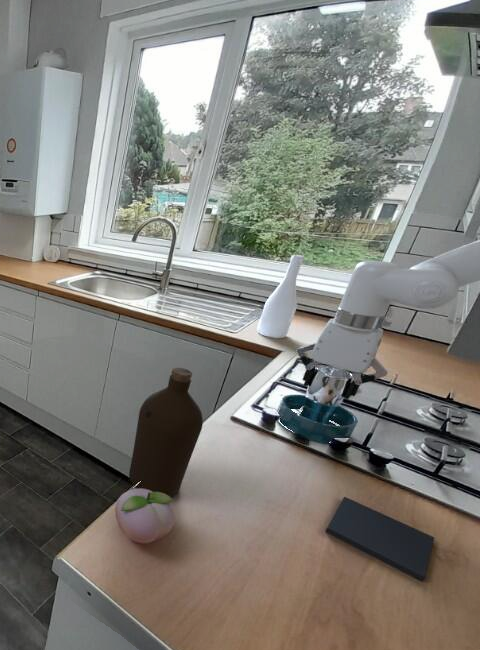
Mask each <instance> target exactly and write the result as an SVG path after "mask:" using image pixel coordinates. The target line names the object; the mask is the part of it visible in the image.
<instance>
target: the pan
mask: <svg viewBox="0 0 480 650" xmlns="http://www.w3.org/2000/svg"><path fill="white" fill-rule="evenodd" d="M305 398H306V394H305V395H304V394H288V395H284V396H283V397H282V398H281V399H280V402H279V405H278V407H277V410H276V412H278V414H279V415H280V417H281V418H280V422H281V423H282V424H283V425H284V426H286V427H287V428H288V429H290V430H292V431H293V432H295V433H297V434H300V435H302V436H305V437H307V438H309V439H307V438H305V437H302V436H300V435H297V434H295V433H293V432H292V431H290V430H288V429H286V428H285V427H284V426H282V425H281V424H280V423H279V422H278V424H279V425H280V426H281V427H282V428H284V429H285V430H286V431H288V432H290V433H291V434H293V435H296V436H298V437H300V438H302V439H305V440H308V441H311V442H315V443H320V444H324V445H331V444H330V443H329V442H330V441H331V440H332V439H333V438H350V439H351V437H352V435H353V434H354V431H355V429H356V427H357V425H358V423H359V421H358V417H357V416H356V415H355V414H353V413H352V412H351V411H350V410H349V409H347V408H345V407H343V406H342V405H339V407H338V408H337V409H336V410H335V412H334V413H333V414H332V416H331V418H330V420H331V421H334V422H335V423H337V424H339V425H340V426H336V425H335V424H333V423H331V422H329V424H323V423H320V422H316V421H313V420H310V419H307V418H305V417H303V416H301V415H299V414H297V413H295V412H293V411H292V410H291V409H300V408H301V407H302V406H304V404H305Z"/></svg>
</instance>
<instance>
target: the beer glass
mask: <svg viewBox="0 0 480 650" xmlns="http://www.w3.org/2000/svg"><path fill="white" fill-rule="evenodd" d="M315 369H316V370H315V372H314V374H313V376H312V378H311V380H310V382H309V385H308V386H307V388H306V392H305V395H306V398H305V404H304V408H303V411H302V412H301V414H300V415H301V416H303V417H305V418H307V419H310V420H313V421H316V422H320V423H323V424H329V420H330V418H331V416H332V414H333V413H334V412H335V410H336V409H337V408H338V407H339V406H341V405H342V403H343V401H344V400H345V398H344V397H345V395H346V392H347V390H348V388H349V386H350V384H351V382H352V381H353V379H354V378H353V374H352V372H350V371H347V370H343V369H340V368H336V367H333V366H329V365H317V366H316V367H315Z"/></svg>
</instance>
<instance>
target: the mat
mask: <svg viewBox="0 0 480 650" xmlns="http://www.w3.org/2000/svg"><path fill="white" fill-rule="evenodd" d="M324 532H325V533H326V534H329V535H331V536H333V537H335V538H336V539H339V540H341V541H342V542H345V543H346V544H348V545H350V546H352V547H354V548H356V549H358V550H359V551H362V552H363V553H366V554H367V555H369V556H372V557H373V558H375V559H377V560H378V561H381V562H384V564H385V563H386V564H387V565H389V566H391V567H393V568H395V569H396V570H399V571H401V572H402V573H405V574H406V575H408V576H410V577H413V578H414V579H416V580H418V581H420V582H423V581H424V580H425V578H426V575H427V571H428V567H429V562H430V558H431V554H432V550H433V545H434V540H435V537H434V536H433V535H430V534H428V533H427V532H423V531H421V530H420V529H417V528H415V527H413V526H411V525H408V524H406V523H404V522H402V521H399V520H398V519H395V518H393V517H391V516H389V515H386V514H384V513H382V512H380V511H378V510H376V509H373V508H371V507H369V506H366V505H365V504H362V503H360V502H358V501H355V500H353V499H351V498H349V497H346V496H343V498H342V499H341V501H340V503H339V505H338V507H337V508H336V511H335V512H334V514H333V516H332V518H331V519H330V522H329V523H328V525H327V527H326V529H325V531H324Z"/></svg>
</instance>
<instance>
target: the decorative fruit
mask: <svg viewBox="0 0 480 650" xmlns="http://www.w3.org/2000/svg"><path fill="white" fill-rule="evenodd" d="M173 502H174V499H173V497H170V496H168V495H166V494H164V493H161V492H152V491H150V490H147V489H141V488H138V489H137V488H133V489H130V490H128V491H125V492H124V493H122V494H121V495H120V496H119V497H118V498H117V501H116V503H115V508H114V514H115V519H116V522H117V526H118V528H119V529H120V532H122V535H124V536H125V537H126V538H127V539H129V540H130V541H133V542H135V543H138V544H150V543H152V542H154V541H158V540H161V539H162V538H163V537H165V536H166V535H167V534H169V532H170V531H171V530H172V529H173V528H174V525H175V522H176V518H175V512H174V510H173V507H172V506H171V504H170V503H173Z"/></svg>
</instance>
